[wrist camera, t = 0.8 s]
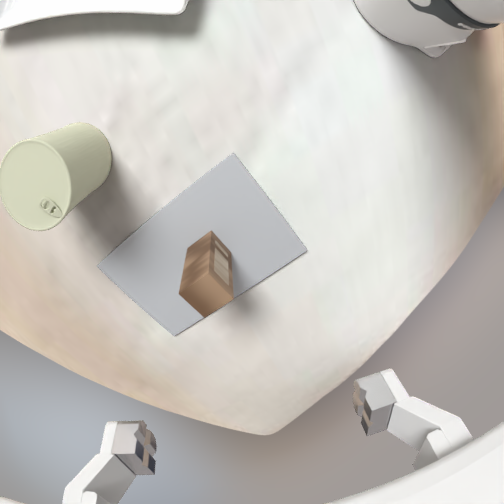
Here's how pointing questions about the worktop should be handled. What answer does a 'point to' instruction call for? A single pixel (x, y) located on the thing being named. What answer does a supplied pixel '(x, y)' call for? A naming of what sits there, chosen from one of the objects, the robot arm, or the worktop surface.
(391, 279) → the worktop surface
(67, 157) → the can
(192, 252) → the brown box
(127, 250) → the grey mat
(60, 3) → the square plate
